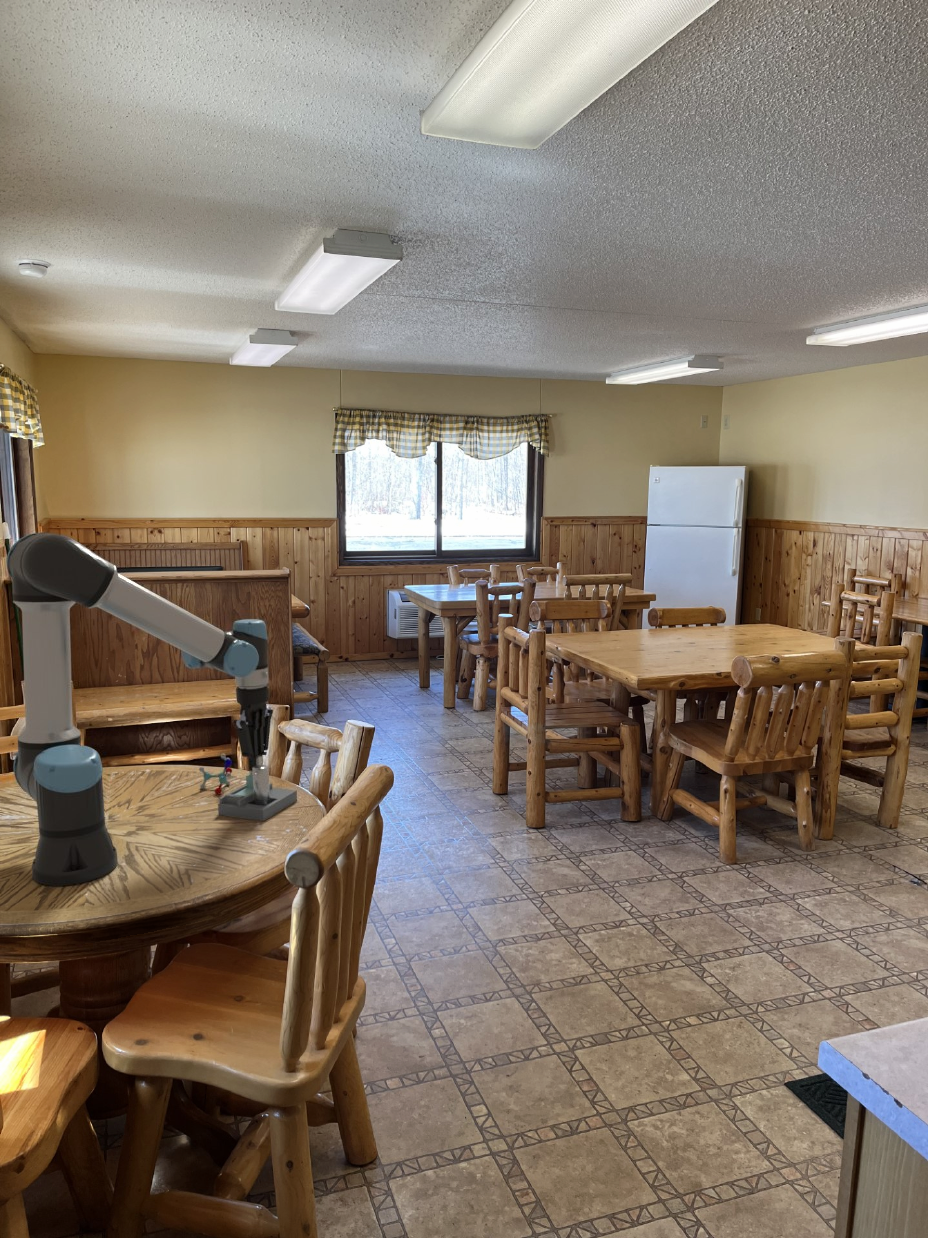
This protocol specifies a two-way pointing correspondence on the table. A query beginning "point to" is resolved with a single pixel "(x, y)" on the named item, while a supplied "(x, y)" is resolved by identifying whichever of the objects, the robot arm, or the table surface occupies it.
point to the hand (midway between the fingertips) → (256, 782)
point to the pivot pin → (261, 785)
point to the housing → (248, 810)
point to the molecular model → (221, 776)
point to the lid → (247, 786)
